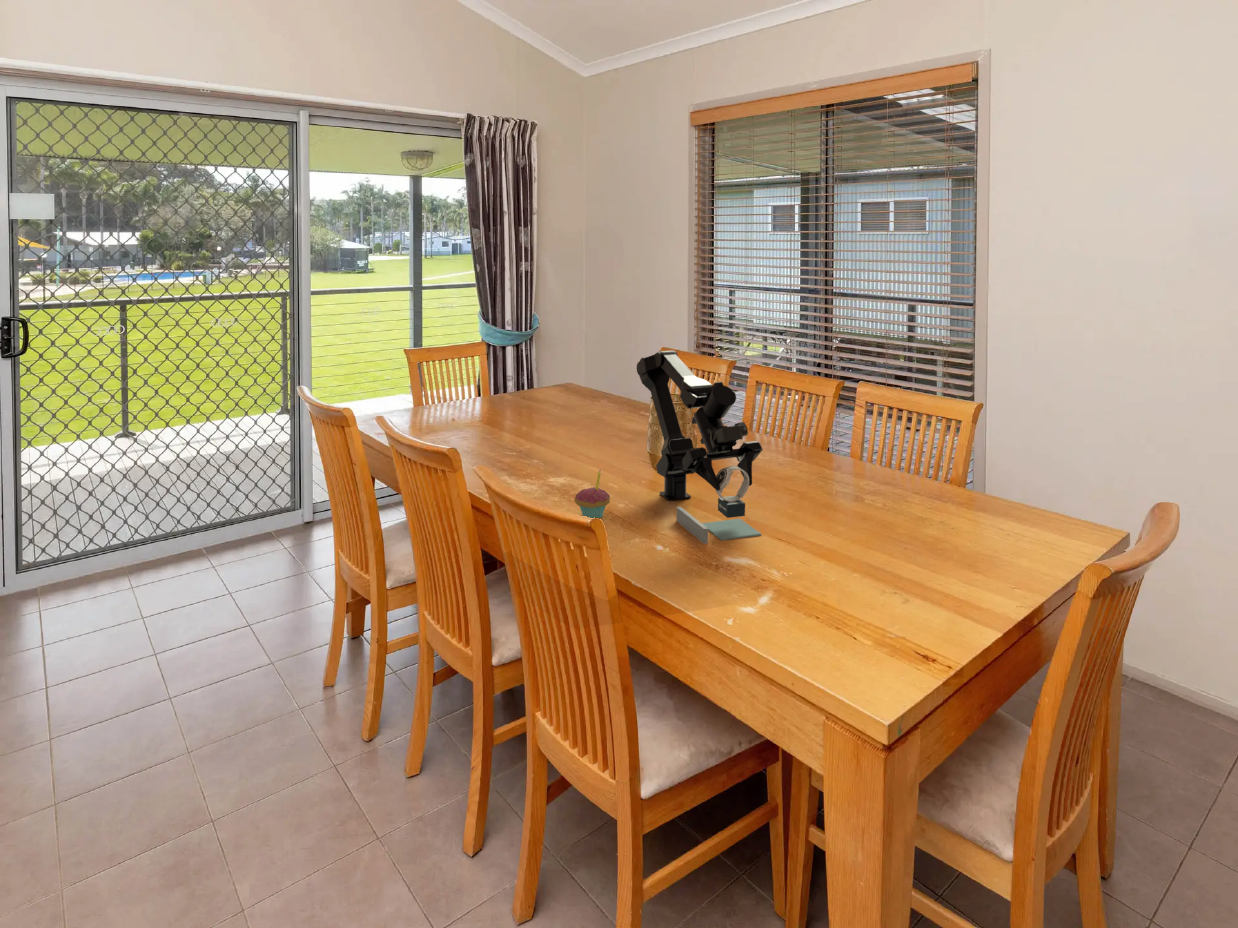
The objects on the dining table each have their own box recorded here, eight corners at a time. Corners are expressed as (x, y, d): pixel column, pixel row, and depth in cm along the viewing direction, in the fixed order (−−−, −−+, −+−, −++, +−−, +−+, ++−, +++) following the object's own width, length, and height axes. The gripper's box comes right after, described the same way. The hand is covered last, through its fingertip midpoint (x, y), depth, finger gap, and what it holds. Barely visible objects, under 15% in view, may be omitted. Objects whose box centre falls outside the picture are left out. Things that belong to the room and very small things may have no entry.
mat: (701, 524, 196) (701, 523, 196) (739, 520, 199) (739, 518, 199) (721, 540, 186) (721, 538, 185) (761, 535, 189) (761, 533, 188)
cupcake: (609, 510, 206) (609, 464, 203) (610, 521, 198) (610, 473, 195) (575, 511, 206) (574, 464, 203) (574, 522, 198) (573, 474, 195)
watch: (710, 510, 193) (711, 465, 190) (741, 507, 195) (743, 462, 192) (719, 518, 188) (720, 472, 184) (752, 515, 190) (753, 469, 187)
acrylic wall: (676, 520, 198) (676, 507, 197) (680, 520, 199) (680, 506, 198) (703, 543, 184) (704, 528, 183) (707, 543, 184) (708, 528, 183)
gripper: (688, 414, 185) (712, 475, 178) (760, 407, 192) (785, 465, 185) (672, 440, 194) (693, 499, 187) (740, 432, 201) (763, 488, 194)
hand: (734, 487), depth 188 cm, fingers closed on watch, 8 cm apart
